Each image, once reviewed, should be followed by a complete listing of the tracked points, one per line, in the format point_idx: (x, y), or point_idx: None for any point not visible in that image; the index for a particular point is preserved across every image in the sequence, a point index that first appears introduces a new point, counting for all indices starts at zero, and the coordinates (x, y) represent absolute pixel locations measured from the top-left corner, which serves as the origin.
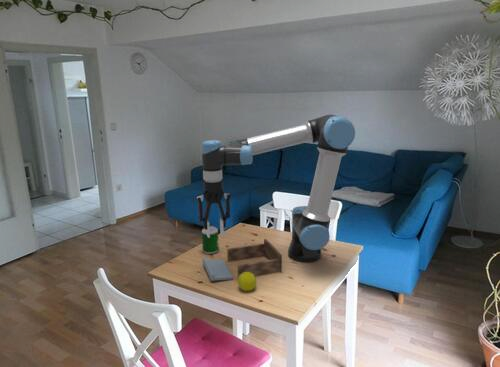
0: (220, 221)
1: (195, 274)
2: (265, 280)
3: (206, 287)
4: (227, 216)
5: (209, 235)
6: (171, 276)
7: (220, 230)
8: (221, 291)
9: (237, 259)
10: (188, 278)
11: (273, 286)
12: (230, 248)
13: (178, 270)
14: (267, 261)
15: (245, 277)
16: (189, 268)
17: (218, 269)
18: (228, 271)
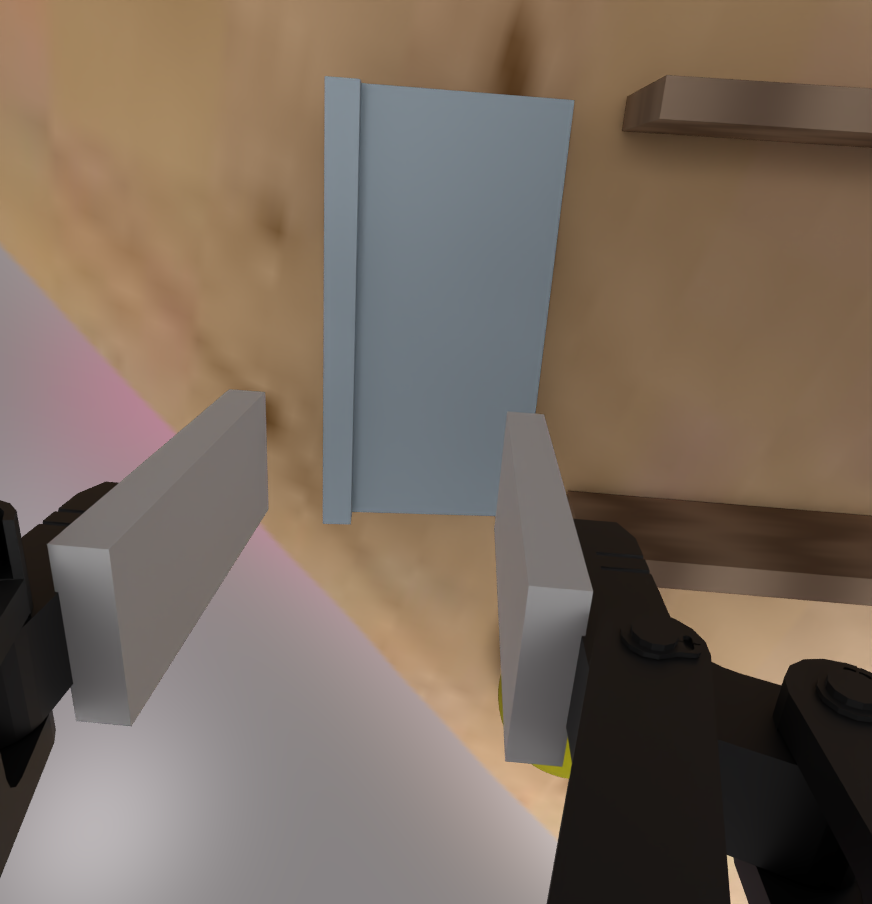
0: (516, 611)
1: (234, 261)
2: (755, 597)
3: (289, 512)
4: (748, 882)
5: (249, 529)
6: (8, 205)
7: (508, 452)
8: (382, 602)
9: (739, 137)
10: (163, 311)
11: None
12: (715, 83)
13: (74, 97)
14: None
15: (548, 771)
16: (189, 98)
17: (439, 355)
18: (521, 410)
